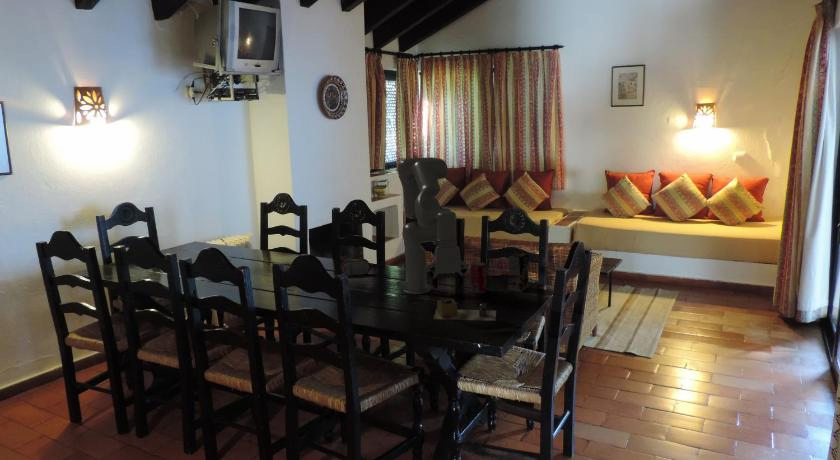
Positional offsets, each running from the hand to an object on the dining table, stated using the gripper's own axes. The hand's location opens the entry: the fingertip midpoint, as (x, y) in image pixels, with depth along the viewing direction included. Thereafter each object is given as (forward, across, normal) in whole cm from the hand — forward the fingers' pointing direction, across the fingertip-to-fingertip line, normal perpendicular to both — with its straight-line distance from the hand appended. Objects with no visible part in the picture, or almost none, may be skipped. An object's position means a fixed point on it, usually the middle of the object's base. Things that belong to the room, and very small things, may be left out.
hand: (447, 286), depth 235 cm
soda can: (+12, +22, +30) cm, 39 cm away
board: (+13, +6, -2) cm, 14 cm away
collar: (+12, 0, +1) cm, 12 cm away
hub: (+12, +13, -4) cm, 18 cm away
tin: (+11, -28, +74) cm, 80 cm away
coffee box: (+12, +41, +30) cm, 52 cm away
